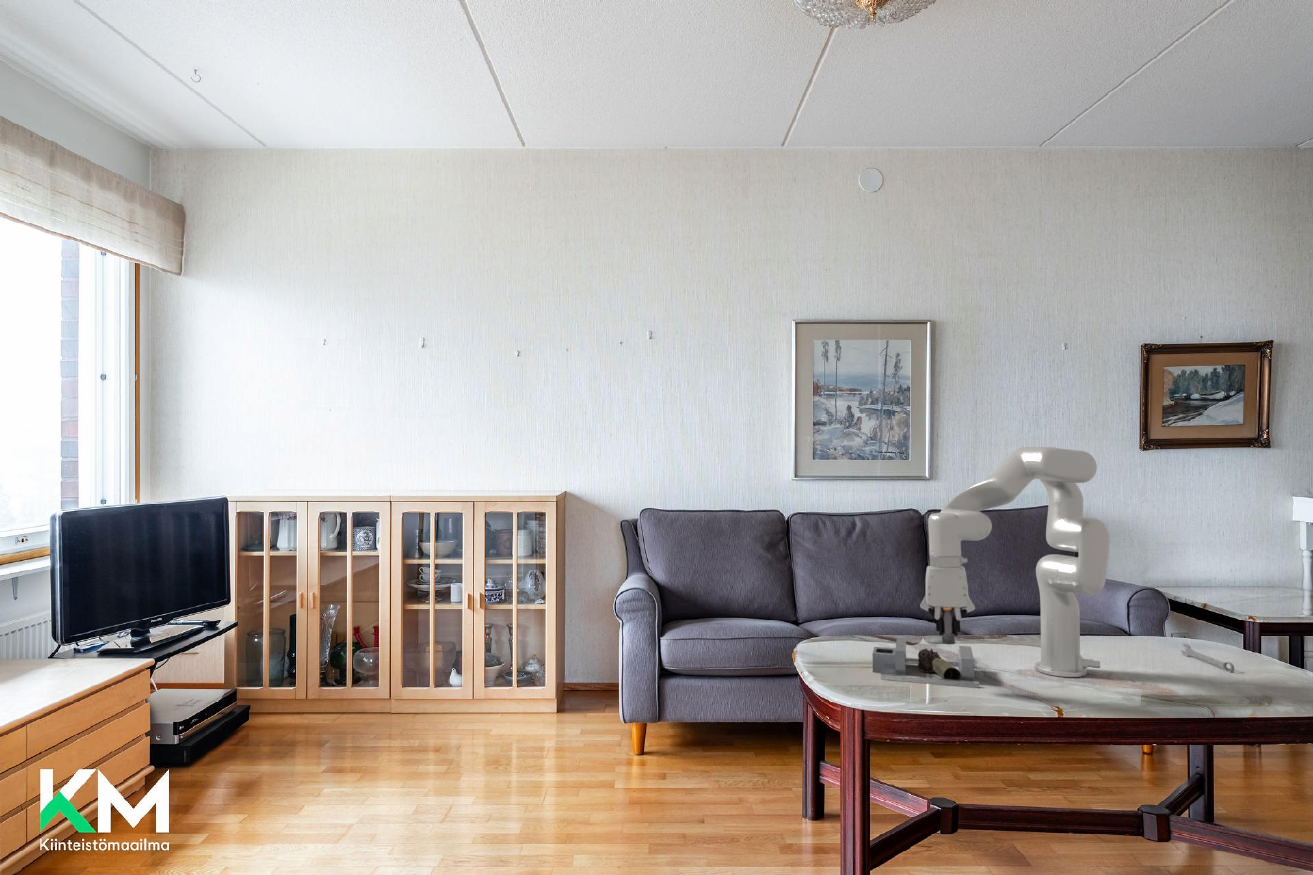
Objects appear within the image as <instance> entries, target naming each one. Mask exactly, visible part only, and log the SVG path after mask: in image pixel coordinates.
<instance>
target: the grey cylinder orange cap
mask: <svg viewBox="0 0 1313 875" xmlns="http://www.w3.org/2000/svg"><path fill="white" fill-rule="evenodd" d="M940 615H941V619H942V636H941V638H942V639H941V640H942V641H941V642H942V644H945V645H955V644H956V636H955V635H954V618H955V617H954V616H955V608H948V607H946V608H944V607H940Z"/></svg>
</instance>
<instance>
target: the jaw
mask: <svg viewBox="0 0 1313 875" xmlns="http://www.w3.org/2000/svg"><path fill="white" fill-rule="evenodd" d="M958 646H959V647H958V648H959V649H957V661H958V667H957V668H958V670H959V671H960V673H961V679H960V680H963V681H975V668H974V664H975V657H974V654H973V648H972V647H971V646H967V645H965V646H964V645H958Z"/></svg>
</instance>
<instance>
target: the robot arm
mask: <svg viewBox="0 0 1313 875" xmlns="http://www.w3.org/2000/svg"><path fill="white" fill-rule="evenodd" d="M1097 468H1098V465H1097V461H1096V460H1095V458H1094V457H1093V455H1092V454H1091V453H1089V452H1087V451H1084V450H1076V449H1068V448H1061V447H1059V448H1058V447H1052V446H1024V447H1018V448H1016V449H1014V450H1013V451H1012V452H1011V453H1010V454H1009V455H1007V457H1006V458H1005V459H1004V460H1003V461H1002V462H1001V463H1000V465H998V467H996V469H995V470H994V471H993V472H992V473H991V474H990V475H989V476H988V477H986V478H985V479H984V480H982V481H980V482H978V483H975V484H974V485H972V486H971V487H968V488H966V489H965V490H962V491H961V492H959V493H958V494H956V495H955V496H954V497H952V498H951V499H950V500H949V501H948V502H947V503H946V504H945V505H944V507H943V508H942V509H941V511H940V512H936V513H932V514H930V515H929V517H928V522H927V524H928V526H927V527H928V545H929V546H928V548H929V565H927V566H926V572H925V595H924V597H923V599H922V601H921V602H920V604H919V607H920V609H922V610H924V611H927V612H928V614H930V615H931V616H932V617H933V618H934V619H935V631H936V632H939V634H938V635H939V636H941V637H942V619H941V607H944V608H946V607H948V608H954V635H955V637H958V633H961V620H962V618H963V617H964V616H966V615H967V614H968V613H970V612H973V611H975V609H976V607H975V606H976V605H975V604H974V603H973V601H972V600H971V597H970V596H969V586H968V578H967V571H966V568H965V567H964V566H963V564H968V557H964V556H962V546H961V544H962V543H961V542H962V541H974V542H975V541H981V540H984V539H985V538H987V537H988V536H989V535H990V534H991V532H992V527H993V525H992V521H991V519H990V518H989V516H988V515H986V514H985V513H983V512H982V511H984V510H988V509H992V508H998V507H1002V506H1005V505H1008V504H1010V503H1012V502H1013V501H1015V500H1016V498H1018V496H1019V495H1020V494H1021V493H1022V492H1023V491H1024V490H1025V489H1026V488H1027V486H1028V485H1030V483H1031V482H1032V481H1033V480H1039V481H1040V482H1041V483H1042V485H1043V486H1044V488H1045V491H1046V492H1047V496H1048V497H1047V498H1048V508H1047V518H1046V528H1045V529H1046V530H1045V538H1046V539H1045V540H1046V542H1047V544H1048V545H1049V546H1050V547H1052V548H1053V549H1057V550H1059V551H1067V552H1073V553H1074V552H1075V553H1078V556H1077V557H1076V556H1072V555H1065V554H1046V555H1044V556H1043V557H1041V558H1039V560H1038V562H1037V563H1036V567H1035V575H1036V580H1037V585H1038V590H1039V600H1040V601H1039V602H1040V605H1039V606H1040V661H1037V662H1036V663H1035V664H1034V669H1035V670H1036V671H1038V672H1040V673H1043V674H1045V675H1051V676H1054V677H1055V676H1056V677H1064V678H1079V677H1084V676H1086V675H1088V671H1087V669H1088V668H1092V669H1101V662H1100V660H1093V659H1092V658H1084V657H1083V656H1082V655H1081V635H1080V634H1081V628H1080V627H1081V626H1080V625H1081V624H1080V622H1081V616H1080V615H1081V614H1080V613H1081V612H1080V604H1079V601H1078V599H1077V597H1076V595H1075V594H1079V595H1083V596H1084V595H1085V596H1096V595H1097V594H1099V593H1101V592H1102V591H1103V589H1104V587H1105V586H1106V585H1105V584H1106V582H1107V581H1106V580H1107V575H1108V565H1109V564H1108V563H1109V551H1110V533H1109V530H1108V528H1107V526H1106V525H1105V523H1104V522H1102V520H1100V519H1099V518H1095V517H1087V516H1084V496H1083V493H1082V491H1081V489H1080V487H1079V486H1078V484H1084V483H1089V482H1090V481H1092V479H1093V478H1094V477H1095V475H1096V474H1097Z"/></svg>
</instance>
